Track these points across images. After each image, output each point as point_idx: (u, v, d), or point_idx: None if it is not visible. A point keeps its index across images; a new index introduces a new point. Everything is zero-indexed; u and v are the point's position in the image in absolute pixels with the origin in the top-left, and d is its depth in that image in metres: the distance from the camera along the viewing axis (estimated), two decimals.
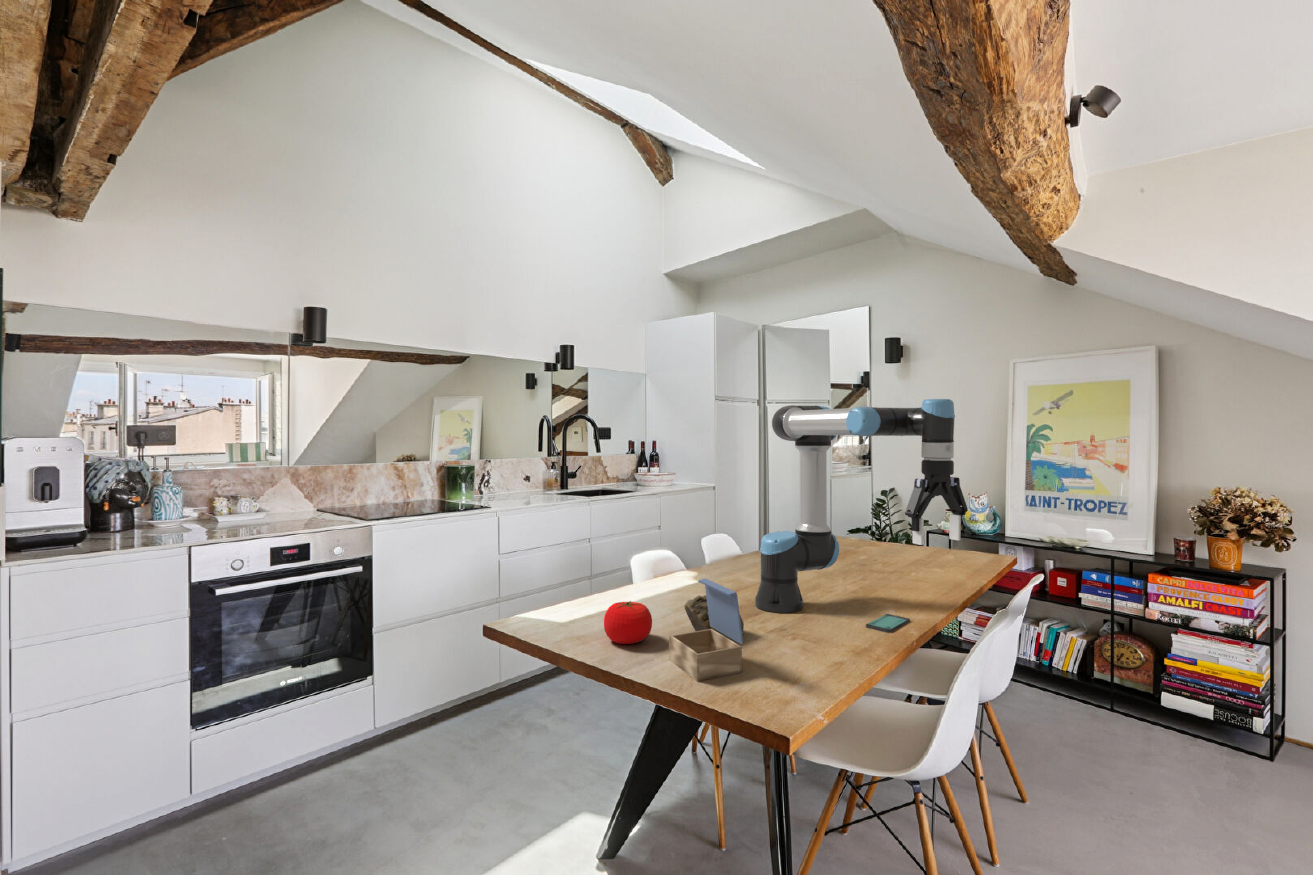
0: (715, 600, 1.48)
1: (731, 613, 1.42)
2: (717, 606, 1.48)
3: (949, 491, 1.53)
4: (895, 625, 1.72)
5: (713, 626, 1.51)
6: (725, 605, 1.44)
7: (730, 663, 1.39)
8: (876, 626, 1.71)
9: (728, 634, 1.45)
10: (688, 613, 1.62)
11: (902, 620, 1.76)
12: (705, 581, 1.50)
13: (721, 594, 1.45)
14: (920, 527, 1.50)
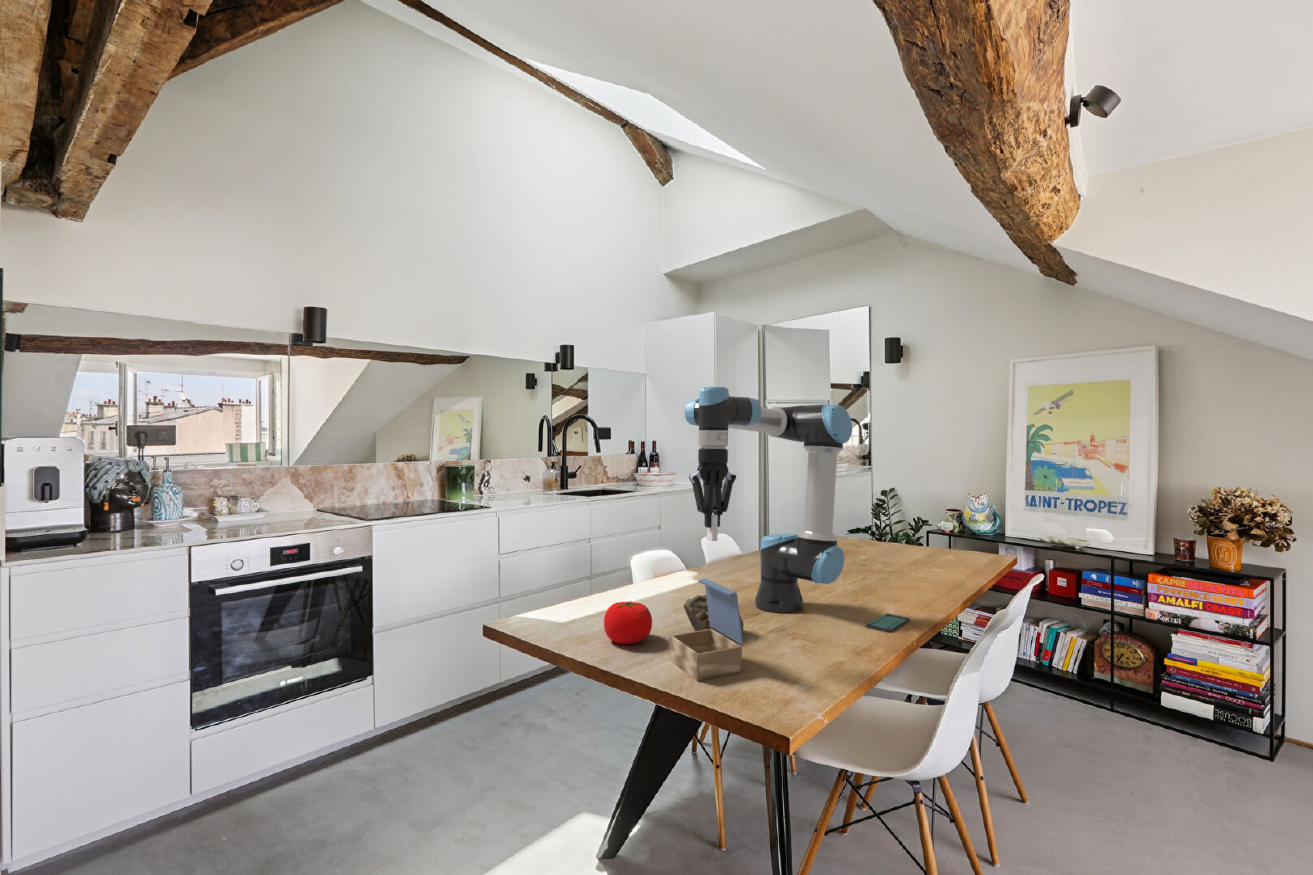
0: (715, 600, 1.48)
1: (731, 613, 1.42)
2: (717, 606, 1.48)
3: (719, 481, 1.52)
4: (895, 625, 1.72)
5: (713, 626, 1.51)
6: (725, 605, 1.44)
7: (730, 663, 1.39)
8: (876, 626, 1.71)
9: (728, 634, 1.45)
10: (687, 612, 1.63)
11: (902, 620, 1.76)
12: (705, 581, 1.50)
13: (721, 594, 1.45)
14: (711, 523, 1.51)
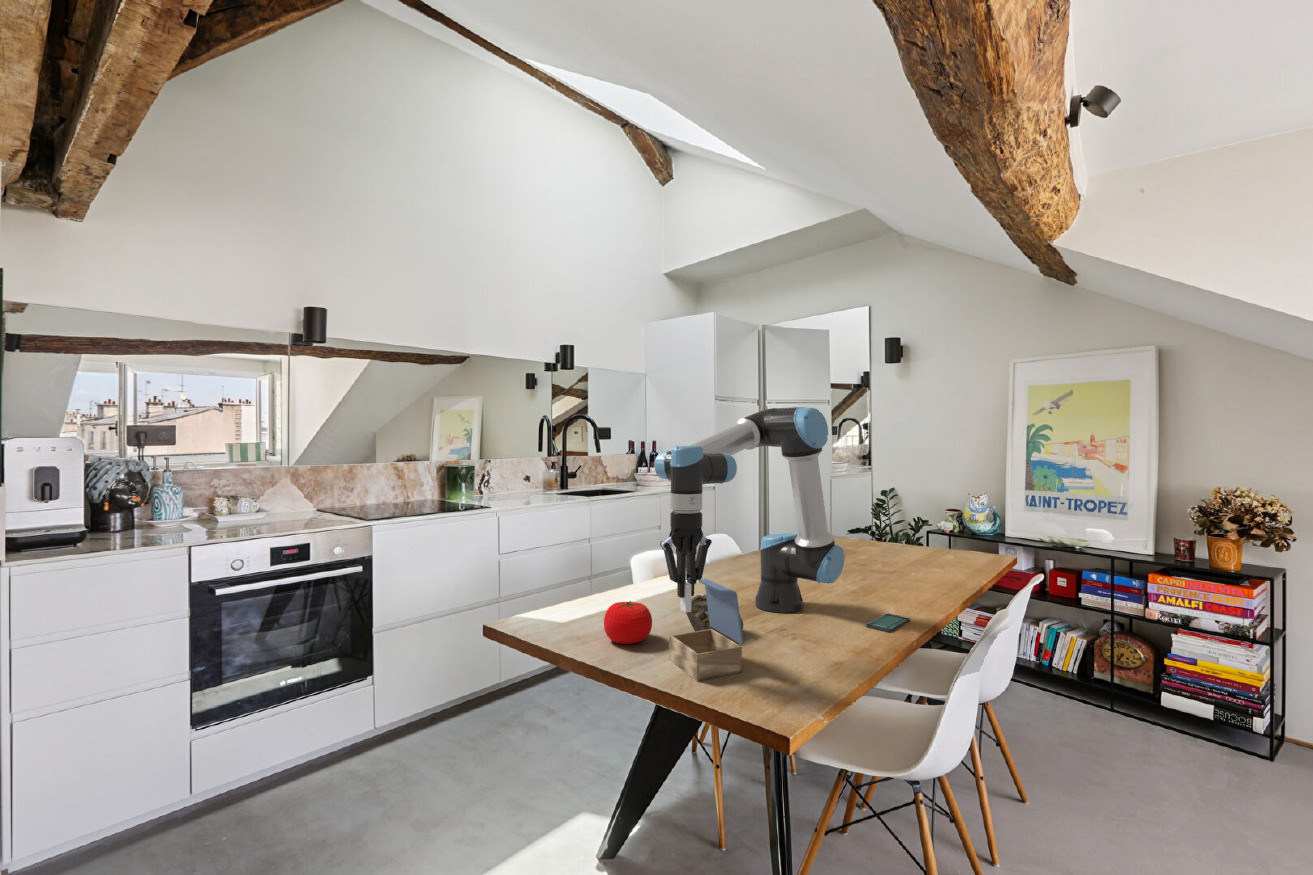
0: (715, 600, 1.48)
1: (731, 613, 1.42)
2: (717, 606, 1.48)
3: (693, 547, 1.41)
4: (895, 625, 1.72)
5: (713, 626, 1.51)
6: (725, 605, 1.44)
7: (730, 663, 1.39)
8: (876, 626, 1.71)
9: (728, 634, 1.45)
10: (687, 612, 1.63)
11: (902, 620, 1.76)
12: (705, 581, 1.50)
13: (721, 594, 1.45)
14: (685, 593, 1.40)
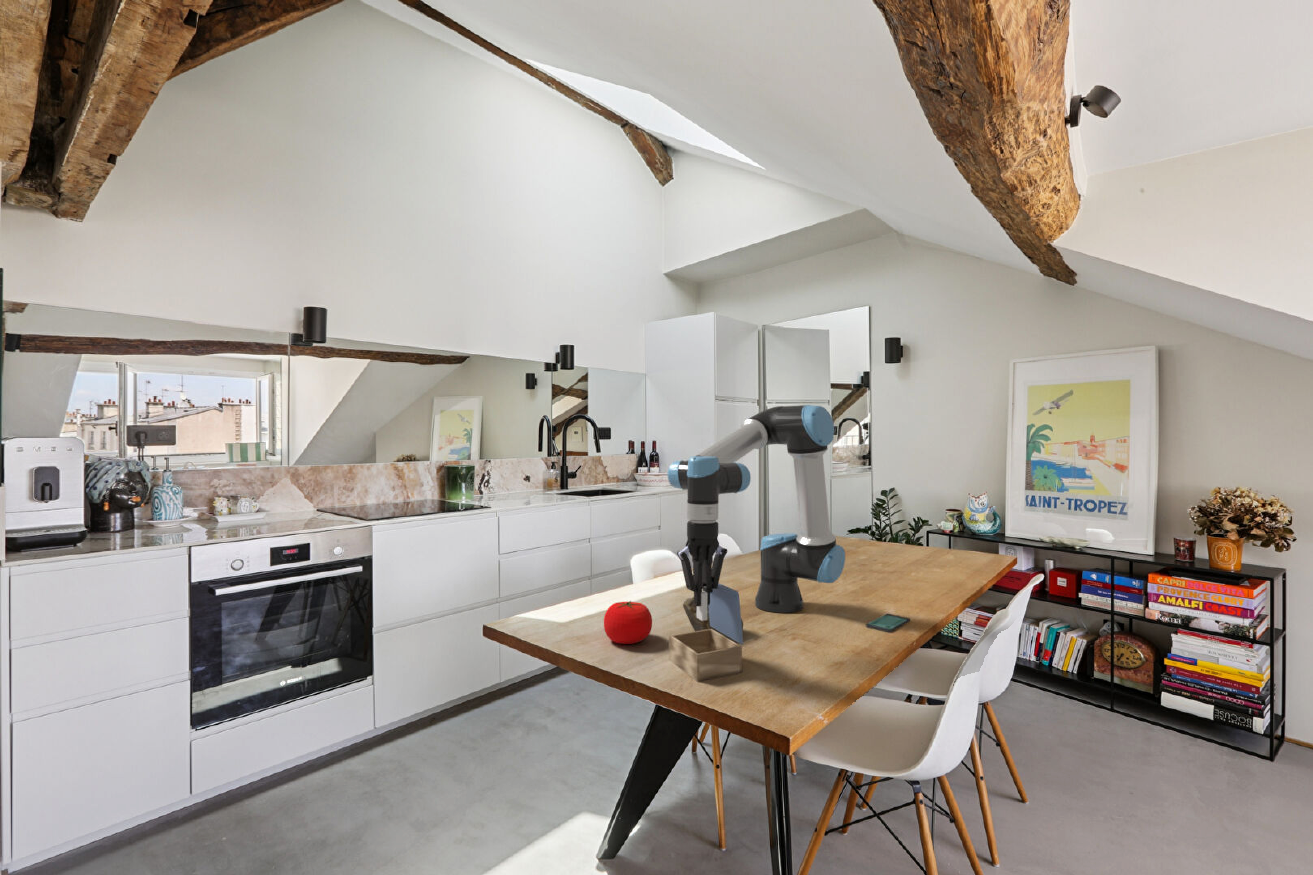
0: (716, 600, 1.49)
1: (732, 613, 1.42)
2: (718, 606, 1.48)
3: (709, 557, 1.43)
4: (895, 625, 1.72)
5: (713, 626, 1.51)
6: (726, 605, 1.44)
7: (730, 663, 1.39)
8: (876, 626, 1.71)
9: (728, 634, 1.45)
10: (686, 611, 1.64)
11: (902, 620, 1.76)
12: None
13: (722, 594, 1.45)
14: (701, 602, 1.42)
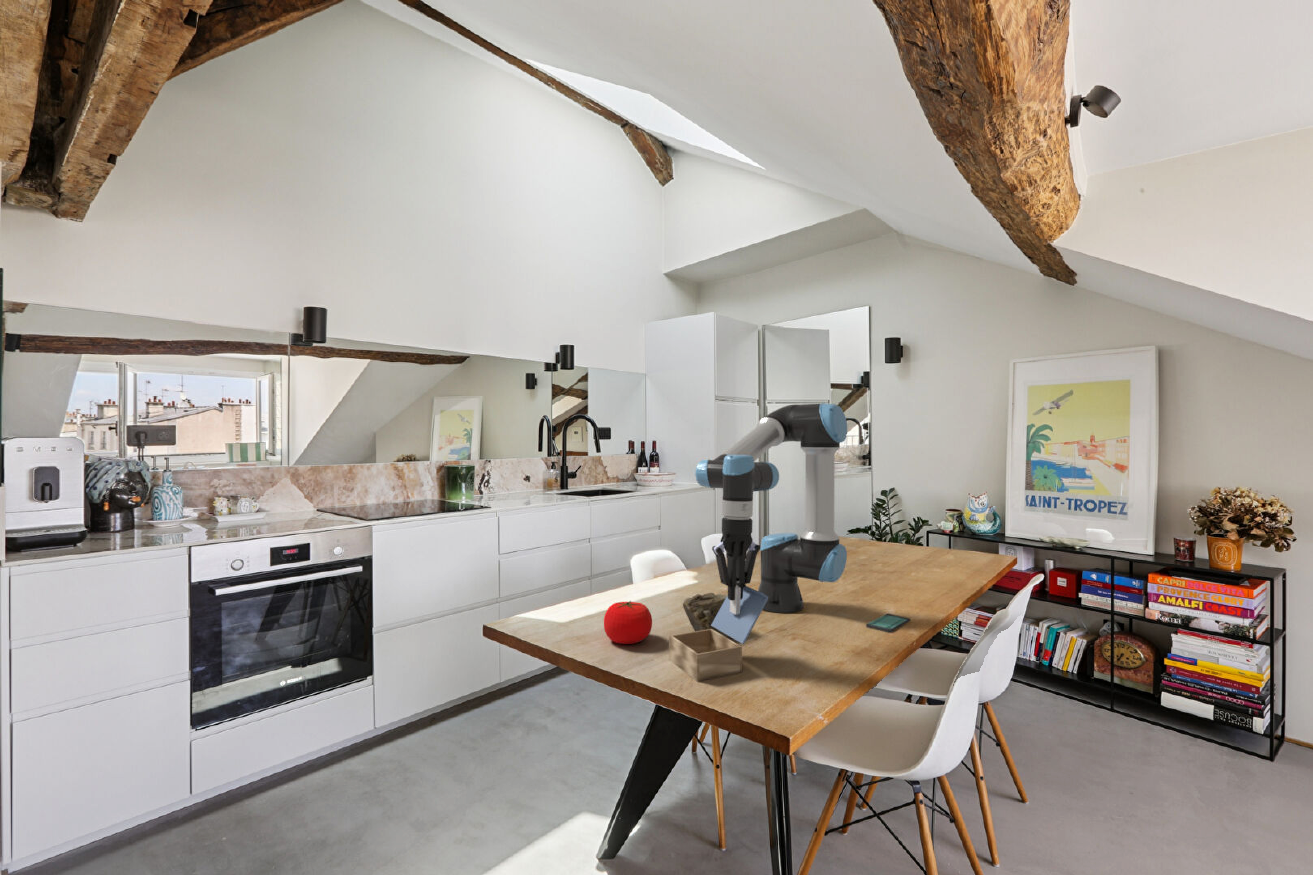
0: None
1: (749, 614, 1.44)
2: None
3: (743, 552, 1.47)
4: (895, 625, 1.72)
5: (715, 625, 1.52)
6: (746, 607, 1.47)
7: (730, 663, 1.39)
8: (876, 626, 1.71)
9: (730, 634, 1.45)
10: (686, 611, 1.64)
11: (902, 620, 1.76)
12: None
13: (747, 597, 1.49)
14: (735, 596, 1.47)
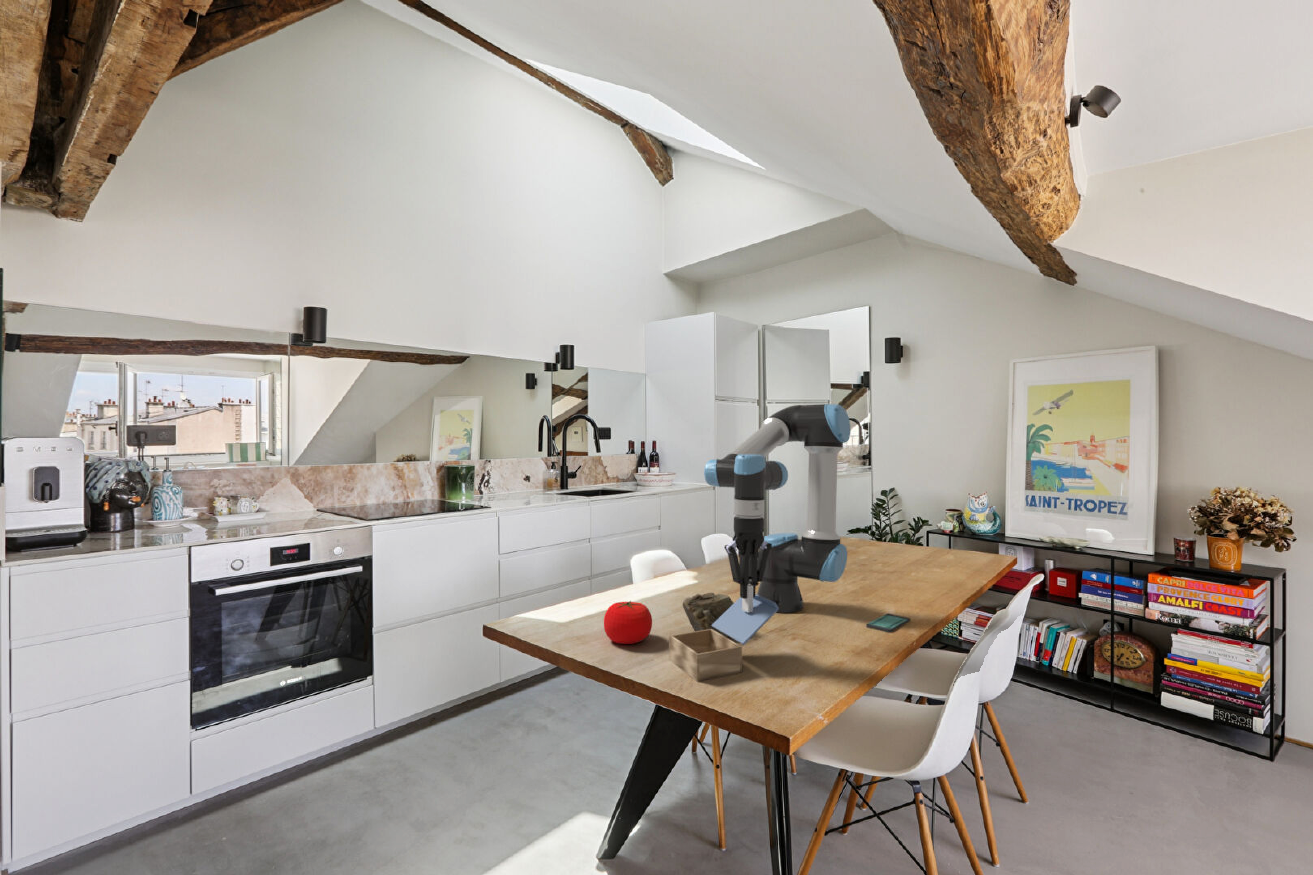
0: None
1: (755, 620, 1.45)
2: (740, 613, 1.51)
3: (755, 551, 1.48)
4: (896, 625, 1.72)
5: (716, 626, 1.52)
6: (753, 614, 1.48)
7: (730, 663, 1.39)
8: (877, 626, 1.71)
9: (730, 634, 1.46)
10: (686, 610, 1.65)
11: (902, 620, 1.76)
12: None
13: (756, 606, 1.50)
14: (747, 594, 1.48)
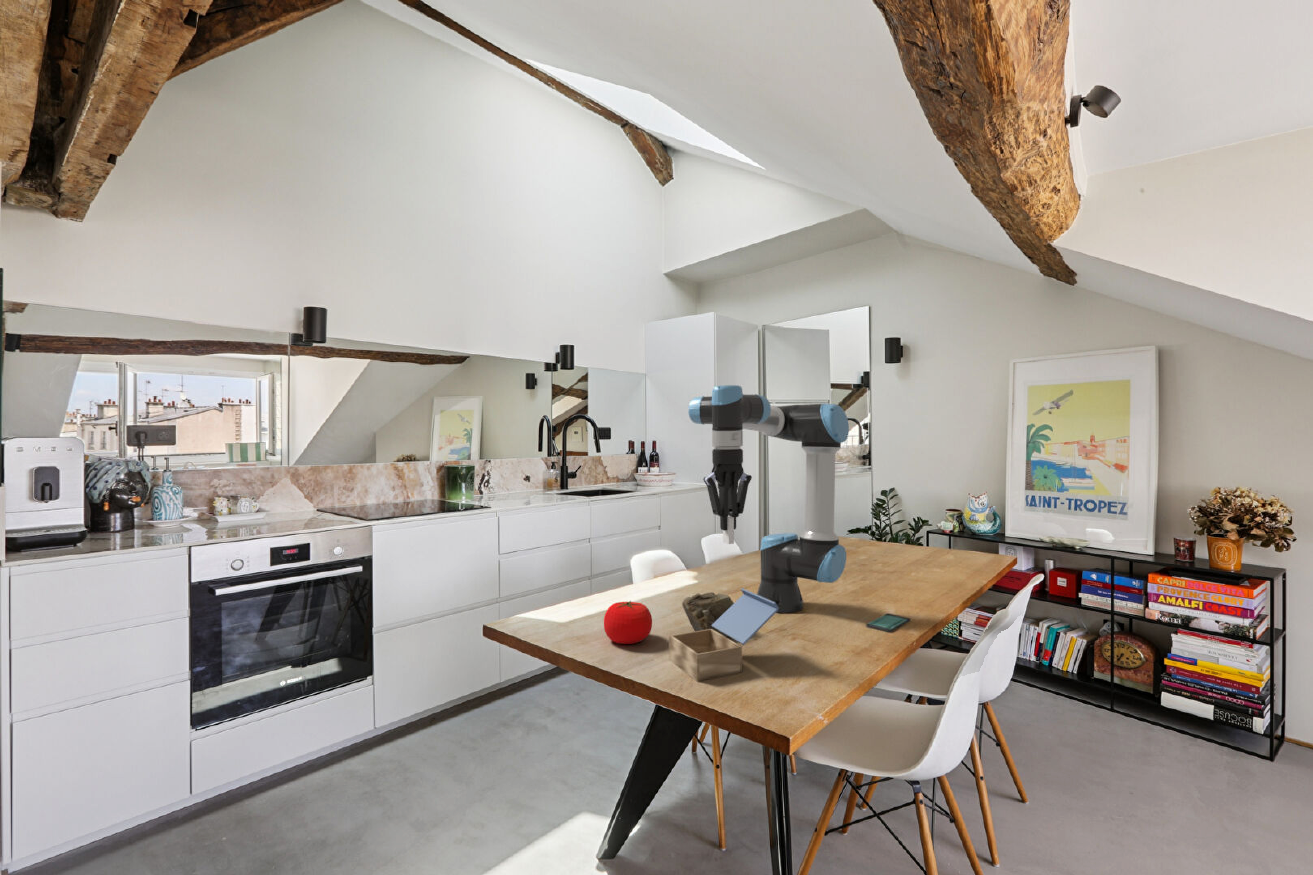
0: (742, 609, 1.52)
1: (755, 620, 1.45)
2: (740, 613, 1.51)
3: (735, 482, 1.47)
4: (896, 625, 1.72)
5: (716, 626, 1.52)
6: (753, 614, 1.48)
7: (730, 663, 1.39)
8: (877, 626, 1.71)
9: (730, 634, 1.46)
10: (685, 610, 1.65)
11: (903, 620, 1.76)
12: None
13: (756, 606, 1.50)
14: (728, 526, 1.47)
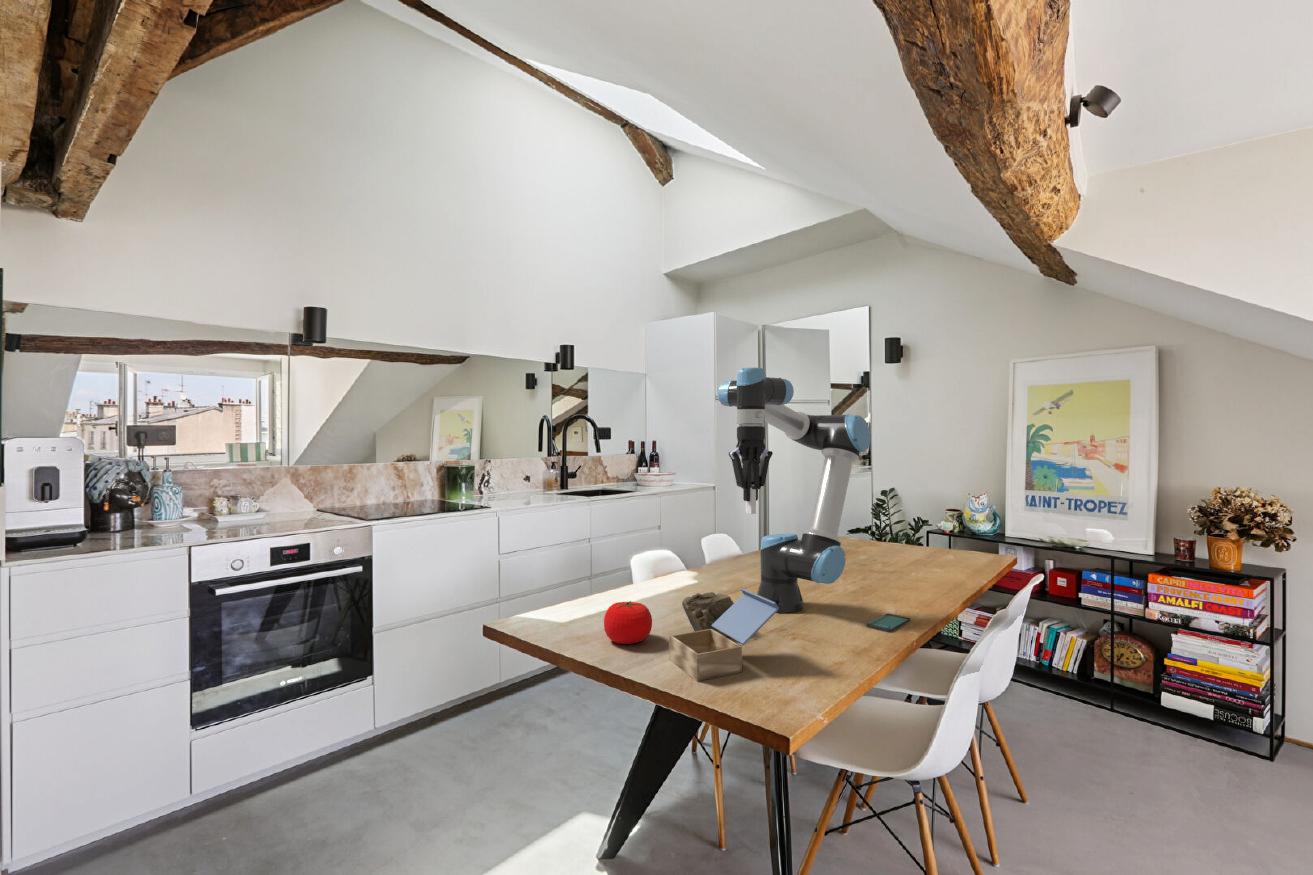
0: (742, 609, 1.52)
1: (755, 620, 1.45)
2: (740, 613, 1.51)
3: (757, 457, 1.60)
4: (896, 625, 1.72)
5: (716, 626, 1.52)
6: (753, 614, 1.48)
7: (730, 663, 1.39)
8: (877, 626, 1.71)
9: (730, 634, 1.46)
10: (685, 610, 1.65)
11: (903, 620, 1.77)
12: None
13: (756, 606, 1.50)
14: (750, 497, 1.60)
